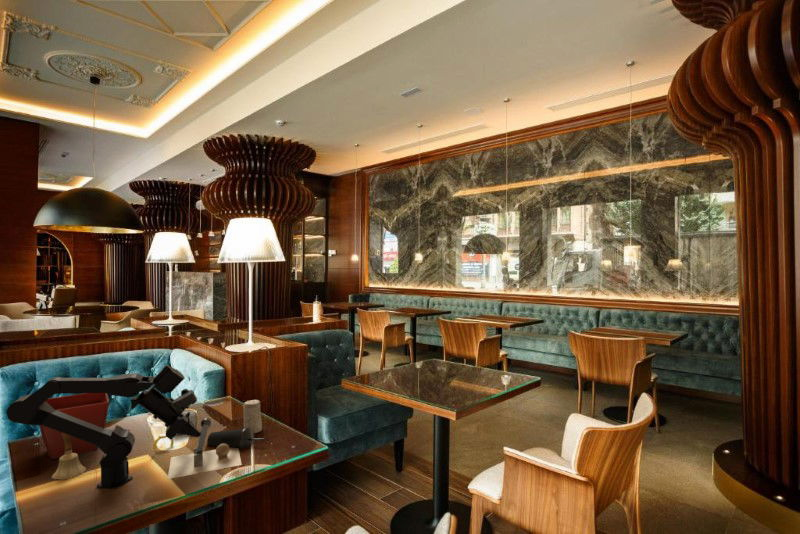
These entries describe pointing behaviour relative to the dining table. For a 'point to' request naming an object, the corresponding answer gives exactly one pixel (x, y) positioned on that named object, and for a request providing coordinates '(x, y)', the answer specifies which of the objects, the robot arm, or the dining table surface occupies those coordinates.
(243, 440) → the drinking cup
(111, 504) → the dining table surface
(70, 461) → the hand bell
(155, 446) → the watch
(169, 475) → the board
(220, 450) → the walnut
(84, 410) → the plant pot
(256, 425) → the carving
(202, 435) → the lever
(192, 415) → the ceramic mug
